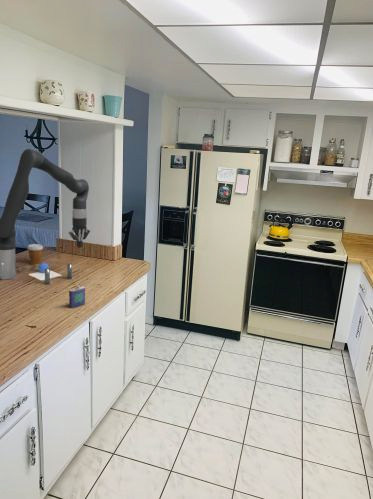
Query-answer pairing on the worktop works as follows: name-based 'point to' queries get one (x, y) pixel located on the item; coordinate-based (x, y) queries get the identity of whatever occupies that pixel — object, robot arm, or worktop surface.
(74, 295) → the flask
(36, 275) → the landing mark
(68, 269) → the right post
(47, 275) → the left post
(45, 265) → the ball
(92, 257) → the worktop surface
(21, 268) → the stopper wall
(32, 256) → the disposable coffee cup
